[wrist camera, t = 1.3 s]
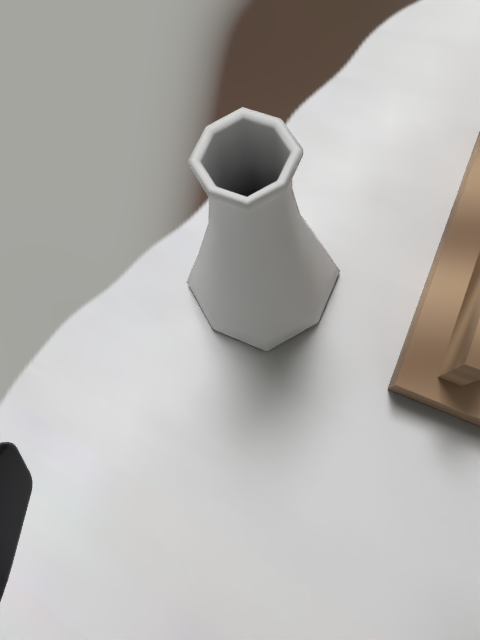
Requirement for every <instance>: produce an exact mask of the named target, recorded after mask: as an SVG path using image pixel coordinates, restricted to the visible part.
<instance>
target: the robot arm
mask: <svg viewBox="0 0 480 640" xmlns="http://www.w3.org/2000/svg"><path fill="white" fill-rule="evenodd" d="M31 492H32V477H31V474H30V472H29V470H28V468H27V466H26V464H25V462H24V460H23V458H22V456H21V455H20V453H19V451H18V449H17V447H16V446H15V445H14V444H13V443H10V442H2V443H0V601H1V599H2V596H3V593H4V590H5V587H6V584H7V581H8V578H9V574H10V571H11V567H12V564H13V560H14V556H15V553H16V549H17V545H18V541H19V537H20V534H21V530H22V526H23V522H24V518H25V514H26V511H27V507H28V503H29V499H30V495H31Z"/></svg>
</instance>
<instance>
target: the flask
mask: <svg viewBox="0 0 480 640" xmlns="http://www.w3.org/2000/svg"><path fill="white" fill-rule="evenodd" d="M302 156H303V148H302V147H301V146H300V144H299V143H298V142H297V140H296V139H295V137H294V136H293V135H292V133H291V132H290V131H289V129H288V128H287V126H286V125H285V124H284V122H283V121H282V120H281V119H280V118H276V117H273V116H270V115H267V114H263V113H259V112H256V111H253V110H249V109H247V108H243V107H242V108H240V109H238V110H237V111H235V112H233V113H231V114H229V115H227V116H226V117H223V118H222V119H220V120H218V121H216V122H214V123H212V124H210V125H208V126H206V128H205V130H204V132H203V133H202V135H201V137H200V139H199V141H198V143H197V145H196V146H195V148H194V150H193V152H192V154H191V156H190V158H189V160H188V162H189V166H190V167H191V169H192V170H193V172H194V174H195V176H196V177H197V179H198V180H199V182H200V184H201V185H202V187H203V189H204V190H205V192H206V193H207V195H208V197H209V223H208V226H207V229H206V232H205V235H204V238H203V242H202V245H201V248H200V251H199V254H198V256H197V258H196V261H195V263H194V266H193V268H192V270H191V273H190V275H189V278H188V281H187V283H188V285H189V287H190V288H191V290H192V292H193V294H194V296H195V297H196V299H197V301H198V303H199V305H200V307H201V308H202V310H203V312H204V314H205V316H206V317H207V319H208V321H209V323H210V325H211V326H212V328H213V329H214V330H216V331H219V332H221V333H223V334H226V335H228V336H230V337H233V338H235V339H238V340H240V341H242V342H245V343H247V344H250V345H252V346H254V347H257V348H259V349H262V350H264V351H266V352H267V351H269V350H270V349H272V348H274V347H276V346H277V345H279V344H281V343H283V342H285V341H286V340H288V339H290V338H292V337H293V336H295V335H297V334H299V333H300V332H302V331H304V330H306V329H308V328H309V327H311V326H313V325H315V324H316V323H318V322H319V320H320V317H321V315H322V312H323V310H324V308H325V305H326V303H327V301H328V298H329V296H330V293H331V291H332V289H333V286H334V284H335V281H336V279H337V277H338V274H339V272H340V270H339V269H338V267H337V266H336V265H335V263H334V262H333V260H332V259H331V257H330V256H329V254H328V253H327V251H326V250H325V248H324V247H323V246H322V244H321V243H320V241H319V240H318V238H317V237H316V235H315V234H314V232H313V231H312V229H311V228H310V227H309V225H308V224H307V222H306V221H305V220H304V218H303V217H302V216H301V215H300V212H299V209H298V206H297V203H296V200H295V197H294V193H293V190H292V177H293V175H294V173H295V171H296V169H297V167H298V165H299V162H300V160H301V158H302Z"/></svg>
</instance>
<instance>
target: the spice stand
mask: <svg viewBox="0 0 480 640" xmlns="http://www.w3.org/2000/svg"><path fill="white" fill-rule="evenodd" d="M388 390H391V391H393V392H396V393H398V394H401V395H403V396H406V397H408V398H411V399H413V400H416V401H418V402H420V403H423V404H425V405H428V406H430V407H433V408H435V409H438V410H440V411H443V412H445V413H448V414H450V415H453V416H455V417H458V418H460V419H463V420H465V421H468V422H470V423H473V424H475V425H478V426H480V132H479V135H478V138H477V141H476V143H475V146H474V149H473V152H472V154H471V157H470V160H469V163H468V166H467V168H466V171H465V174H464V177H463V180H462V182H461V185H460V188H459V191H458V194H457V196H456V199H455V202H454V205H453V208H452V210H451V213H450V216H449V219H448V222H447V224H446V227H445V230H444V233H443V236H442V238H441V241H440V244H439V247H438V250H437V252H436V255H435V258H434V261H433V264H432V266H431V269H430V272H429V275H428V278H427V280H426V283H425V286H424V289H423V292H422V294H421V297H420V300H419V303H418V306H417V308H416V311H415V314H414V317H413V320H412V322H411V325H410V328H409V331H408V334H407V336H406V339H405V342H404V345H403V348H402V350H401V353H400V356H399V359H398V362H397V364H396V367H395V370H394V373H393V376H392V378H391V381H390V384H389V387H388Z"/></svg>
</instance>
